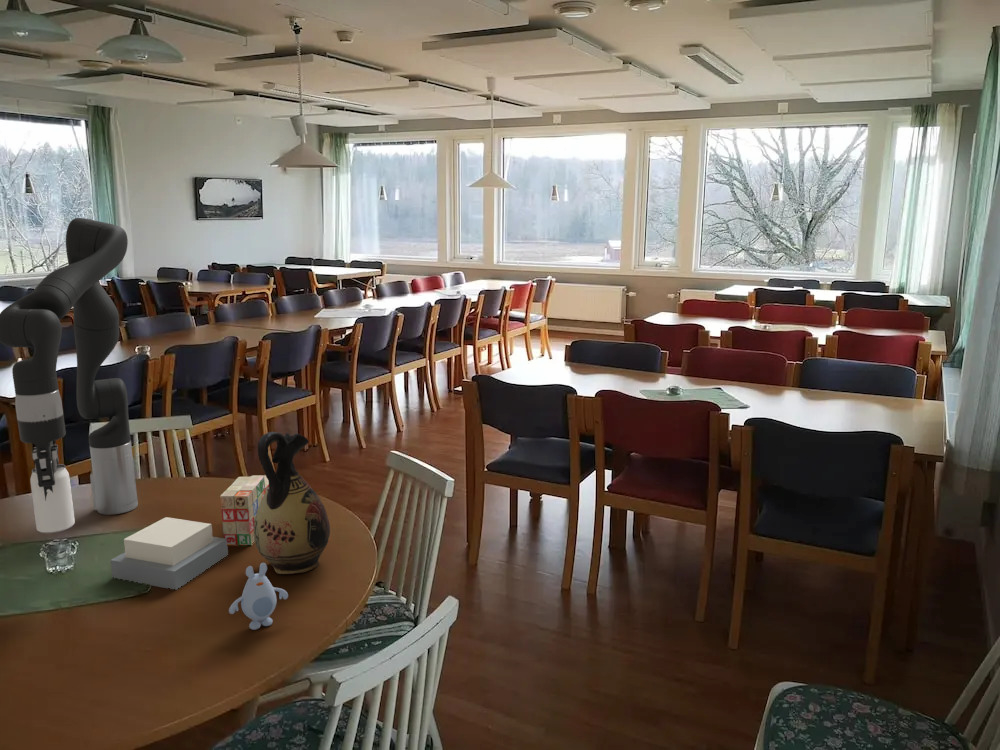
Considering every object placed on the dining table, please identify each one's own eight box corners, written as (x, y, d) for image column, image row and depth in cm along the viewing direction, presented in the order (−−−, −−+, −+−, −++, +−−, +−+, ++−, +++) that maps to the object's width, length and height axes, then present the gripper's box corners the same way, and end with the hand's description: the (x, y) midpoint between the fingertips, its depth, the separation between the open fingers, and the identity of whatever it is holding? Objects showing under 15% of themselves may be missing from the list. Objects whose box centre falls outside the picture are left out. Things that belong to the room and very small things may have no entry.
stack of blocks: (254, 509, 193) (251, 463, 190) (279, 509, 193) (276, 463, 190) (223, 546, 172) (219, 495, 170) (251, 546, 172) (247, 495, 170)
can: (80, 526, 149) (73, 467, 147) (44, 536, 144) (36, 475, 142) (67, 519, 153) (60, 461, 151) (31, 528, 149) (23, 469, 146)
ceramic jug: (294, 543, 173) (285, 415, 167) (346, 558, 166) (339, 425, 159) (234, 574, 159) (222, 435, 153) (288, 592, 152) (279, 447, 145)
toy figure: (235, 642, 134) (230, 579, 132) (226, 626, 139) (221, 565, 137) (295, 624, 140) (291, 563, 137) (284, 609, 145) (280, 551, 142)
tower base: (112, 578, 158) (108, 541, 156) (168, 545, 172) (165, 512, 171) (176, 590, 153) (172, 552, 151) (228, 555, 167) (225, 521, 166)
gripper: (61, 421, 140) (72, 508, 144) (65, 403, 153) (75, 483, 156) (12, 427, 137) (25, 516, 141) (21, 407, 149) (32, 489, 153)
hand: (51, 498), depth 149 cm, fingers closed on can, 5 cm apart
